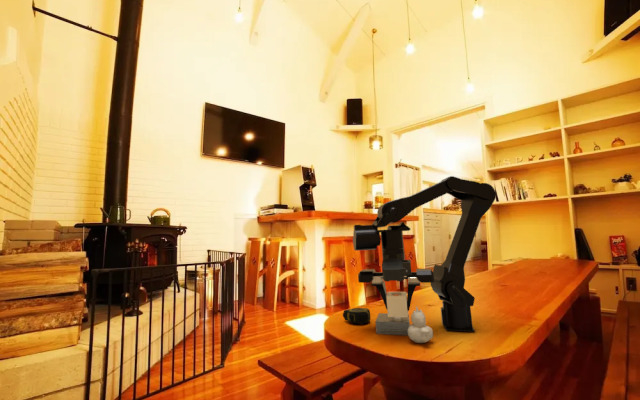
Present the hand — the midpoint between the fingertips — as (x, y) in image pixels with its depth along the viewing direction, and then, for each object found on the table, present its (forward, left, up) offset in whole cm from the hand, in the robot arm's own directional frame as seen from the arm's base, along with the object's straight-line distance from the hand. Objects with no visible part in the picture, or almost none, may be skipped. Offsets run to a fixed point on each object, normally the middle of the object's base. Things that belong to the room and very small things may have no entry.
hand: (397, 309), depth 73 cm
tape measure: (+12, -7, -6) cm, 15 cm away
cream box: (0, 0, -1) cm, 1 cm away
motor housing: (+2, -1, -5) cm, 6 cm away
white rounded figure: (-5, +7, -6) cm, 10 cm away
